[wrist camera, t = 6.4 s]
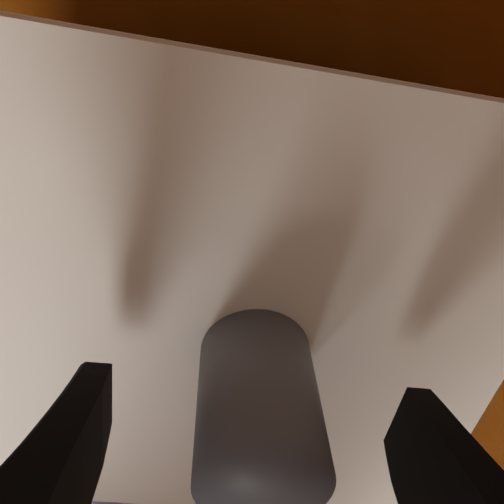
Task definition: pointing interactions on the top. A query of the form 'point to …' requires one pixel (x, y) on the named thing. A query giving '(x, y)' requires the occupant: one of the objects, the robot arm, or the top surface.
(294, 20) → the top surface
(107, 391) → the robot arm
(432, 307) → the lid
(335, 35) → the top surface
